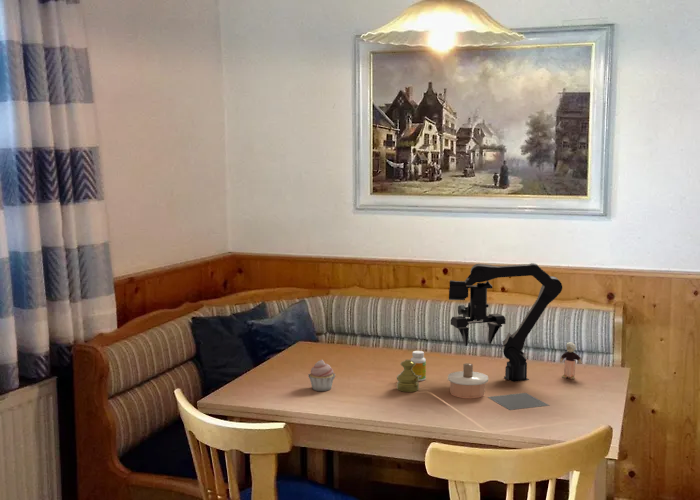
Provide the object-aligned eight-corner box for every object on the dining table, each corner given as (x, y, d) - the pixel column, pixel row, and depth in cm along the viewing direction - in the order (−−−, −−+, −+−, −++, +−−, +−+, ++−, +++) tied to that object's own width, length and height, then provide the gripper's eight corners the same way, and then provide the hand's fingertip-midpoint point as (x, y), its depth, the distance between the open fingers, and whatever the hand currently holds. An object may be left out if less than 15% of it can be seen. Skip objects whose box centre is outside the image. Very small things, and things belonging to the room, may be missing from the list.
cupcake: (341, 388, 262) (341, 359, 261) (321, 394, 256) (321, 364, 254) (322, 383, 269) (321, 354, 268) (302, 389, 262) (301, 359, 261)
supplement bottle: (424, 381, 270) (425, 354, 269) (409, 380, 271) (409, 353, 270) (426, 377, 275) (426, 350, 274) (411, 376, 276) (411, 349, 275)
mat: (525, 394, 255) (525, 392, 255) (549, 406, 242) (549, 405, 242) (487, 398, 251) (487, 396, 250) (509, 411, 237) (509, 410, 237)
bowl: (474, 388, 262) (474, 373, 261) (490, 397, 251) (490, 382, 251) (444, 391, 258) (445, 376, 258) (459, 401, 248) (460, 385, 247)
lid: (476, 372, 262) (476, 358, 262) (495, 382, 250) (495, 367, 250) (441, 376, 258) (441, 361, 258) (458, 386, 246) (459, 371, 246)
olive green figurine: (412, 393, 256) (412, 363, 255) (392, 390, 260) (392, 360, 259) (422, 388, 262) (423, 359, 261) (403, 384, 266) (403, 356, 265)
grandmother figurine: (558, 378, 274) (559, 342, 272) (559, 375, 277) (560, 340, 276) (580, 380, 271) (582, 344, 269) (582, 377, 274) (583, 341, 273)
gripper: (491, 295, 281) (490, 337, 283) (443, 298, 275) (443, 341, 277) (506, 300, 271) (506, 344, 272) (458, 303, 265) (457, 348, 267)
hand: (477, 344), depth 272 cm, fingers open, 9 cm apart
